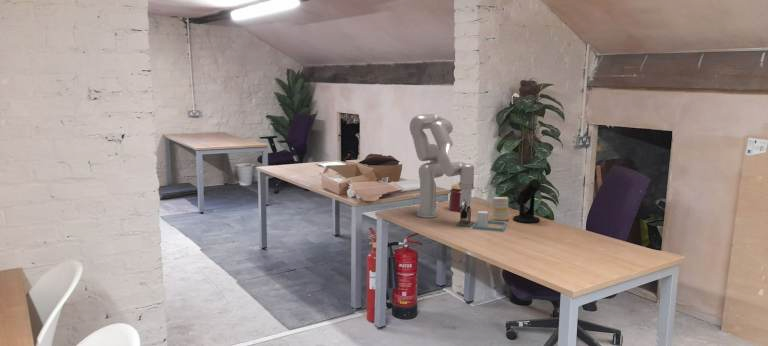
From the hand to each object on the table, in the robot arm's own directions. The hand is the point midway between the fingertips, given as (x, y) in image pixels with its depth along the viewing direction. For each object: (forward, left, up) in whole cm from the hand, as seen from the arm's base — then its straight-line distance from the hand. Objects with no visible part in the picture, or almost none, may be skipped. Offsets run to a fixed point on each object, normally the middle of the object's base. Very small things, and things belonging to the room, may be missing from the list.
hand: (465, 216), depth 310 cm
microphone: (+32, +21, -5) cm, 38 cm away
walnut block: (0, 0, -4) cm, 4 cm away
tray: (+14, 0, -5) cm, 14 cm away
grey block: (+10, 0, -5) cm, 11 cm away
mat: (0, 0, -5) cm, 5 cm away
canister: (-10, +34, -5) cm, 36 cm away
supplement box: (+17, +18, -5) cm, 25 cm away
